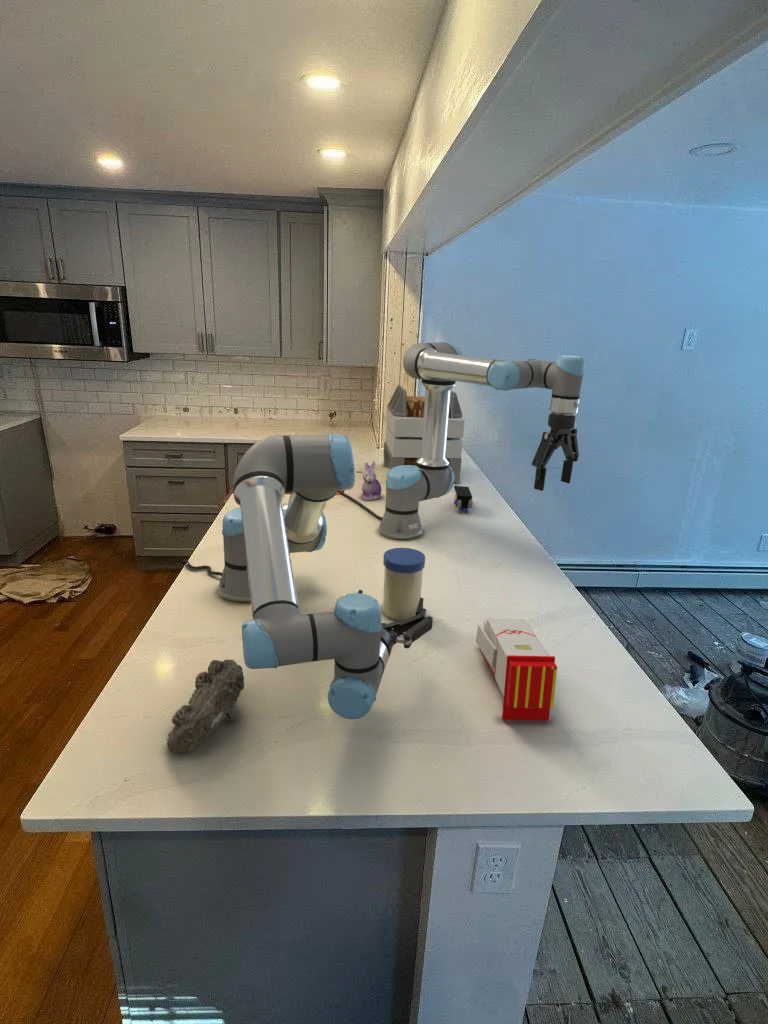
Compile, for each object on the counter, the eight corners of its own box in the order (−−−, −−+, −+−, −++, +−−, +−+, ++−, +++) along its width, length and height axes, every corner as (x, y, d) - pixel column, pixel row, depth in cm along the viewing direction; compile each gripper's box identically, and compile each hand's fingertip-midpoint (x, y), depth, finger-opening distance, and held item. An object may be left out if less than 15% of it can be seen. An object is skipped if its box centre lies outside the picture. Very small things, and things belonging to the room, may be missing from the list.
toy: (523, 604, 135) (566, 662, 106) (518, 656, 138) (559, 727, 109) (472, 603, 135) (501, 661, 105) (468, 655, 138) (496, 726, 108)
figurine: (366, 502, 230) (367, 466, 225) (355, 494, 239) (356, 460, 234) (386, 499, 235) (388, 464, 229) (375, 492, 243) (377, 458, 238)
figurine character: (472, 517, 222) (467, 501, 236) (475, 500, 219) (469, 484, 233) (455, 517, 222) (451, 500, 236) (457, 499, 219) (452, 484, 232)
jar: (421, 621, 145) (425, 566, 139) (383, 620, 144) (386, 565, 139) (417, 602, 154) (421, 550, 149) (381, 601, 153) (384, 549, 148)
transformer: (382, 463, 289) (386, 382, 275) (445, 464, 293) (451, 384, 279) (390, 482, 257) (394, 392, 243) (460, 483, 261) (468, 394, 247)
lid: (427, 573, 140) (427, 565, 139) (384, 573, 139) (384, 564, 138) (422, 556, 150) (422, 547, 149) (382, 555, 149) (382, 547, 148)
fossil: (192, 660, 117) (244, 628, 112) (224, 691, 120) (276, 661, 115) (142, 746, 98) (202, 712, 93) (182, 779, 101) (242, 748, 96)
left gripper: (305, 659, 108) (335, 607, 128) (434, 679, 104) (446, 622, 124) (304, 625, 106) (336, 577, 126) (437, 644, 101) (448, 591, 121)
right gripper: (548, 419, 148) (537, 496, 155) (598, 411, 163) (586, 482, 171) (525, 414, 153) (515, 489, 160) (575, 407, 169) (564, 476, 176)
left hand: (390, 599), depth 125 cm, fingers open, 13 cm apart
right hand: (552, 485), depth 166 cm, fingers open, 13 cm apart
